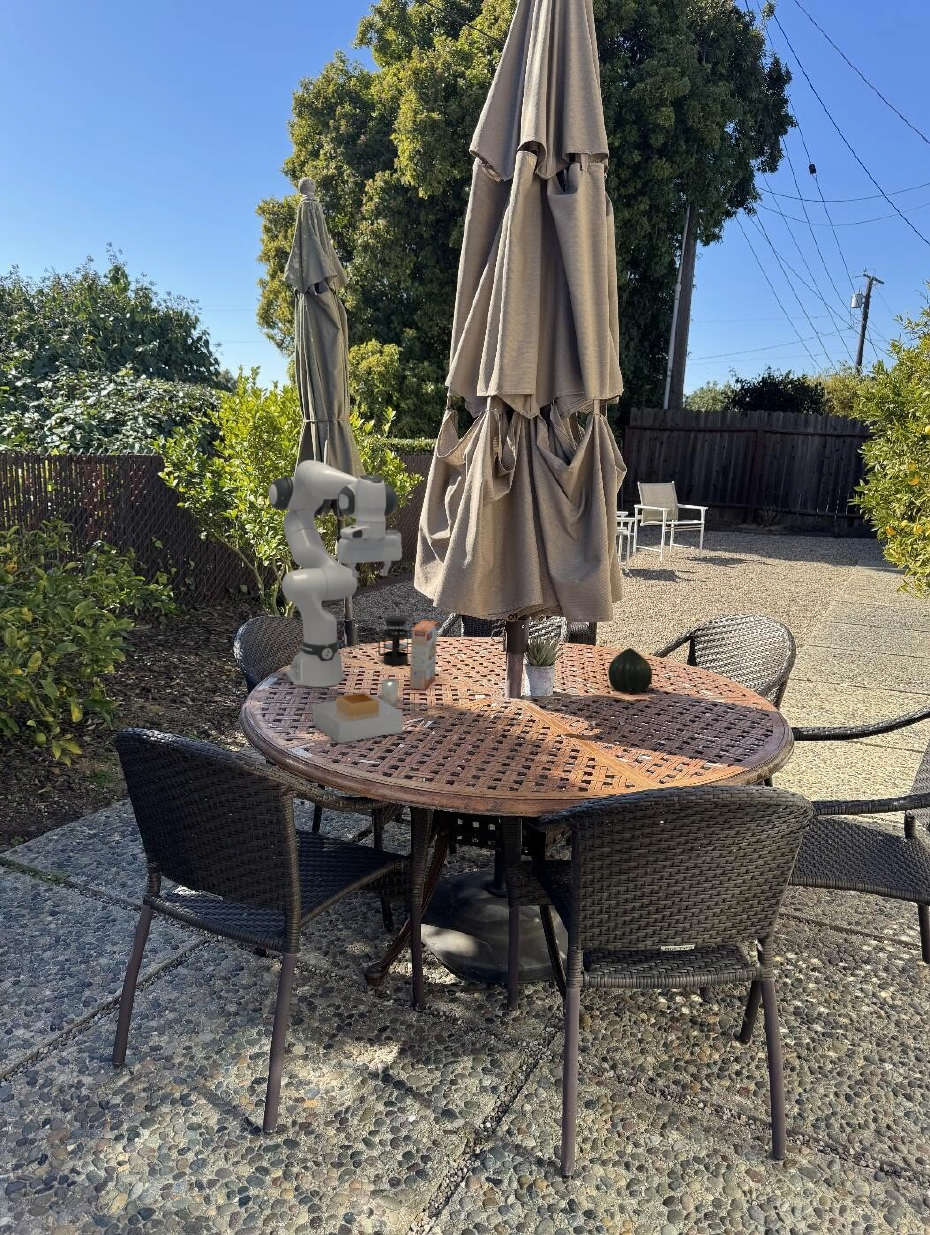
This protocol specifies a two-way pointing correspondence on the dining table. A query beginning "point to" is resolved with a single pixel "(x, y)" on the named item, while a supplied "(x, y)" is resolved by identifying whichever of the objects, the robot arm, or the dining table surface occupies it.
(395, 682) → the clear glass cup
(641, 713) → the dining table surface
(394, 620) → the french press
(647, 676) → the squash
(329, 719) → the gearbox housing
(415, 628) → the cracker box
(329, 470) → the robot arm
